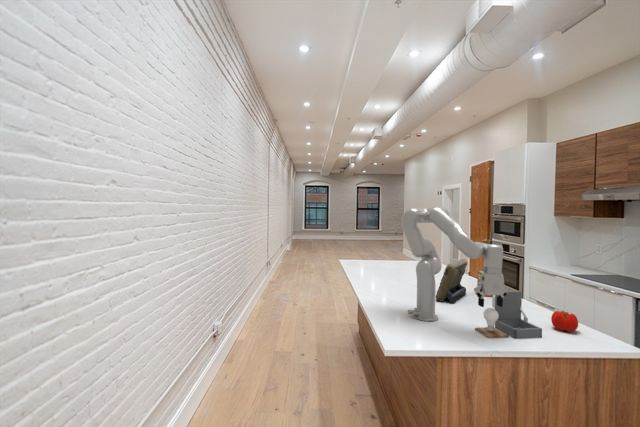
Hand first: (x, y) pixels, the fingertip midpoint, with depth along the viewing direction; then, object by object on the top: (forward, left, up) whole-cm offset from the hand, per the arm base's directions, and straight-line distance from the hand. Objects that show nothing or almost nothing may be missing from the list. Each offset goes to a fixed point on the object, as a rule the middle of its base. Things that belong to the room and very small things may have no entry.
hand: (490, 306), depth 149 cm
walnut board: (+1, -1, -13) cm, 13 cm away
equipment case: (+15, -1, -13) cm, 19 cm away
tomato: (+41, -1, -13) cm, 43 cm away
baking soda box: (+44, +62, -13) cm, 77 cm away
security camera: (+24, +23, -13) cm, 36 cm away
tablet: (+16, +58, -13) cm, 62 cm away
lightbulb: (0, 0, -12) cm, 12 cm away
